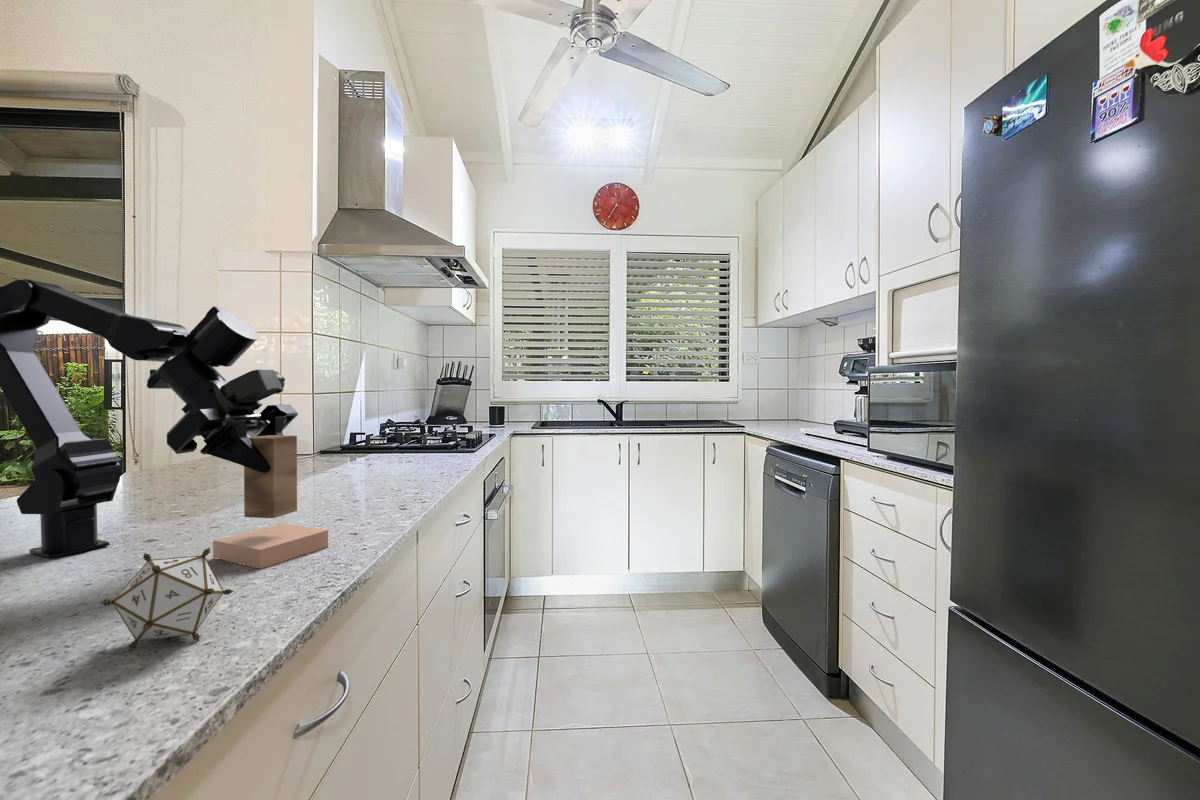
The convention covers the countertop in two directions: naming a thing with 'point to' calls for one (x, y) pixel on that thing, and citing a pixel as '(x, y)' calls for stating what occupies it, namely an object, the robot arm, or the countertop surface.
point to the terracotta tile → (270, 544)
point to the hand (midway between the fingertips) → (280, 467)
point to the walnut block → (272, 478)
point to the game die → (168, 598)
